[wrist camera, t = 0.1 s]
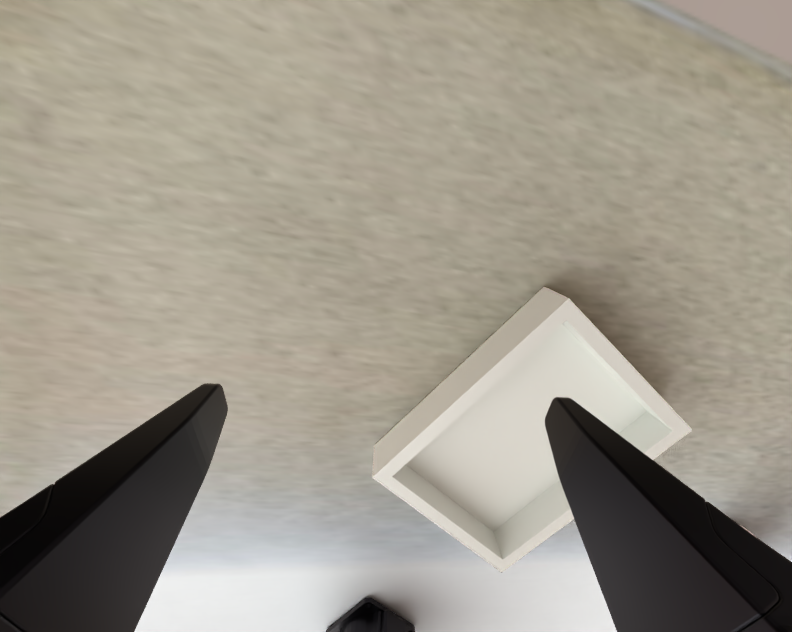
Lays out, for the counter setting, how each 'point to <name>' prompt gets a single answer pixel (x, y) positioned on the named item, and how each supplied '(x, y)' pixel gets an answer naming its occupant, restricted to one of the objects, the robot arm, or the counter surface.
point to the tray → (516, 429)
